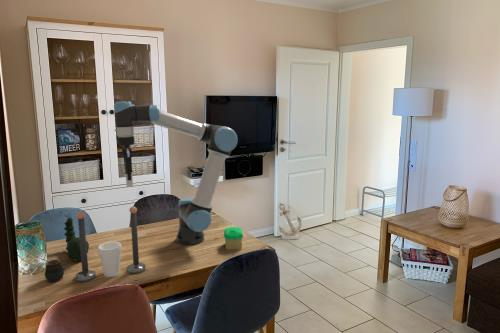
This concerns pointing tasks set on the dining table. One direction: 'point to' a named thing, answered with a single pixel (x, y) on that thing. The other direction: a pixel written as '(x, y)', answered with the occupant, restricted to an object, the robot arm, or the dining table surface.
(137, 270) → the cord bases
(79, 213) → the dark gray rod
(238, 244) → the cake
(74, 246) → the toy figurine
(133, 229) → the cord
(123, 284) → the dining table surface
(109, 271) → the foam cup
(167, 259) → the dining table surface
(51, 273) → the mate gourd
